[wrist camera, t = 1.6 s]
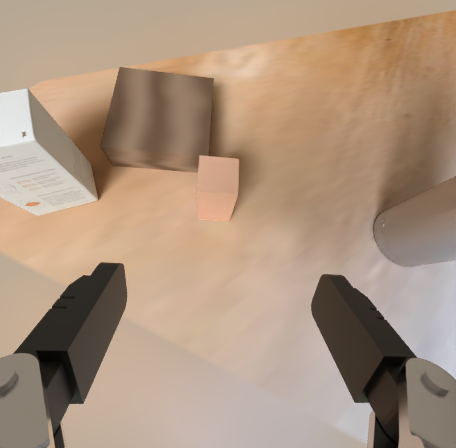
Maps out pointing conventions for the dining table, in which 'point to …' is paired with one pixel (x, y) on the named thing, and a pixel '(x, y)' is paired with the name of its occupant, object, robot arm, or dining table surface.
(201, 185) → the terracotta block
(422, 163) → the dining table surface
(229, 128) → the dining table surface
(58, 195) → the small box
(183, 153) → the walnut block
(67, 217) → the dining table surface
